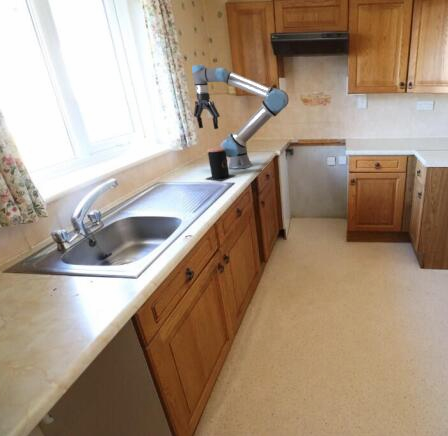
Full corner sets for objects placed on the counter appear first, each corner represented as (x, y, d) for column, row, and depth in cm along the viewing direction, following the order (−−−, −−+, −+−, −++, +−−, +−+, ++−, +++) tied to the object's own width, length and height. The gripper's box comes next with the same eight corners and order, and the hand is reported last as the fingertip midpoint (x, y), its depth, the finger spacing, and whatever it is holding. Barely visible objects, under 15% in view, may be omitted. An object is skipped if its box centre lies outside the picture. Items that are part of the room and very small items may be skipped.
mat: (220, 173, 213) (220, 173, 213) (235, 175, 207) (235, 175, 206) (205, 179, 203) (205, 178, 202) (221, 181, 196) (220, 181, 196)
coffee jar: (226, 179, 199) (222, 150, 192) (209, 179, 200) (204, 150, 193) (231, 174, 209) (227, 146, 202) (215, 174, 210) (210, 147, 202)
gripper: (183, 93, 200) (190, 128, 209) (212, 92, 188) (218, 130, 197) (193, 92, 206) (199, 126, 215) (221, 92, 194) (227, 128, 203)
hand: (208, 128), depth 206 cm, fingers open, 13 cm apart
